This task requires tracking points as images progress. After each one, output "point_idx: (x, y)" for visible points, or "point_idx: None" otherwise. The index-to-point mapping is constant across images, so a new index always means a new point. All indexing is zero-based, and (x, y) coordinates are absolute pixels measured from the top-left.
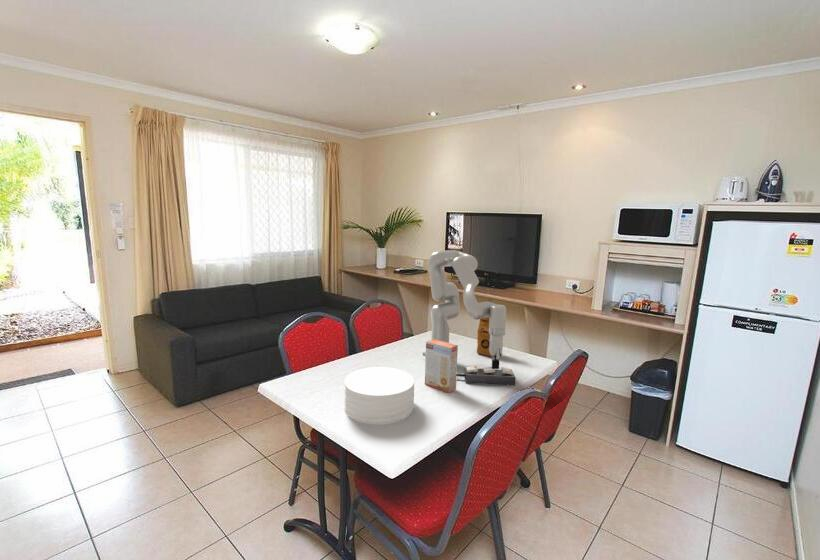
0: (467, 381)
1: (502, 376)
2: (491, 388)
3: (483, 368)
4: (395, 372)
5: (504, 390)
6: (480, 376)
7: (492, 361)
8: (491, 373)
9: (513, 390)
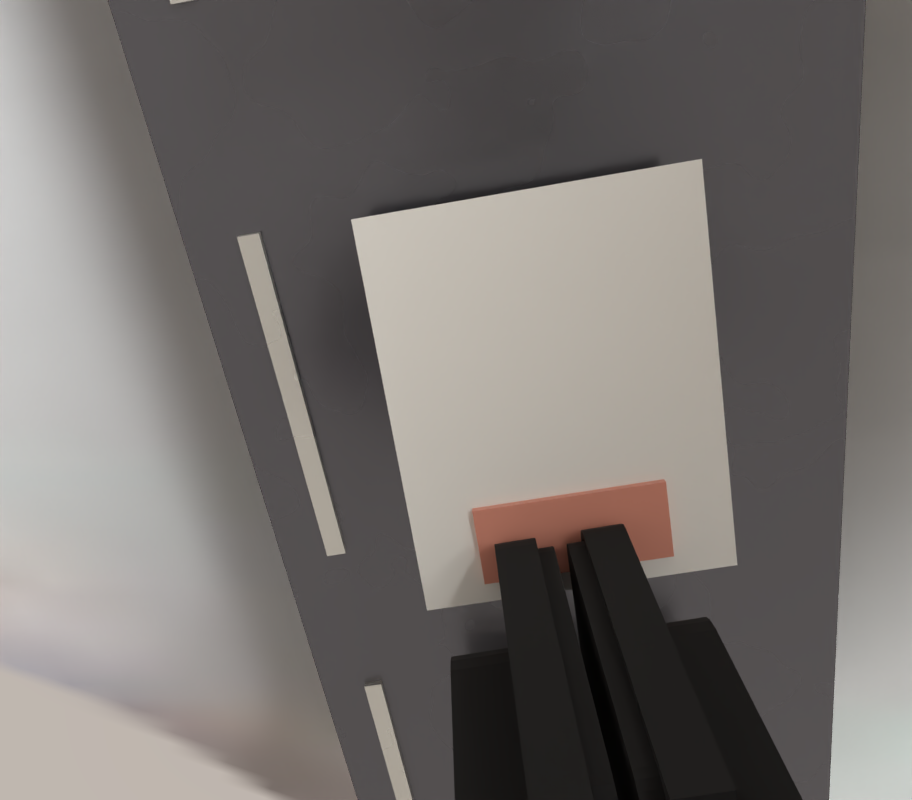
0: None
1: (355, 689)
2: (73, 362)
3: (617, 179)
4: None
5: (101, 597)
6: (138, 75)
7: (542, 768)
8: None
9: (178, 725)
